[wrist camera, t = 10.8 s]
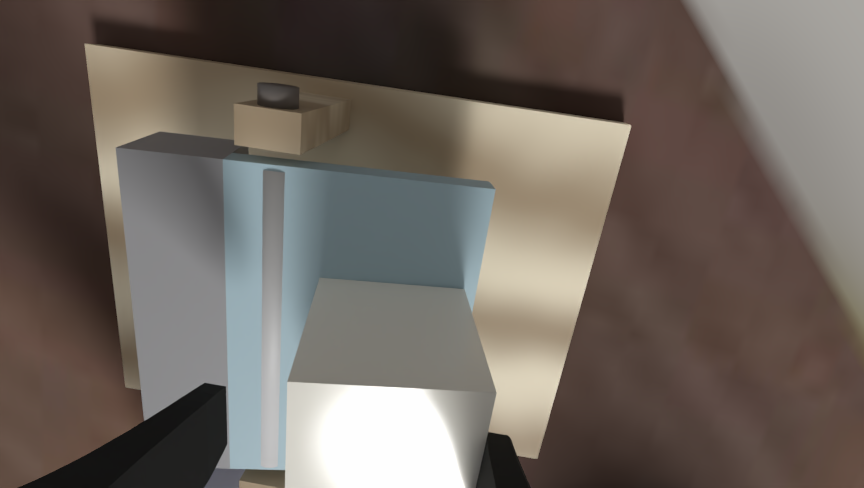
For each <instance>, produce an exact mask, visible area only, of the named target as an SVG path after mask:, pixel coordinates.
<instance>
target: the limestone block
mask: <svg viewBox="0 0 864 488" xmlns="http://www.w3.org/2000/svg"><path fill="white" fill-rule="evenodd" d="M496 394H497V392H496V389H495V386H494V382H493V379H492V376H491V373H490V369H489V366H488V363H487V360H486V357H485V353H484V350H483V347H482V344H481V340H480V337H479V334H478V331H477V328H476V324H475V321H474V318H473V315H472V311H471V308H470V305H469V302H468V299H467V295H466V292H465V289H458V288H445V287H432V286H420V285H407V284H394V283H382V282H369V281H357V280H344V279H331V278H319V281H318V285H317V288H316V291H315V294H314V297H313V301H312V304H311V307H310V310H309V313H308V317H307V320H306V323H305V326H304V329H303V333H302V336H301V339H300V342H299V346H298V349H297V352H296V355H295V358H294V362H293V365H292V368H291V371H290V374H289V378H288V381H287V414H286V459H285V488H476V484H477V480H478V475H479V471H480V466H481V462H482V458H483V453H484V449H485V444H486V440H487V435H488V430H489V426H490V421H491V417H492V412H493V408H494V403H495V398H496Z"/></svg>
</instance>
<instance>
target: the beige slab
mask: <svg viewBox="0 0 864 488" xmlns="http://www.w3.org/2000/svg"><path fill="white" fill-rule="evenodd" d="M85 52H86V60H87V69H88V77H89V85H90V94H91V102H92V110H93V119H94V127H95V136H96V144H97V152H98V161H99V169H100V178H101V186H102V194H103V203H104V211H105V220H106V228H107V236H108V245H109V253H110V262H111V270H112V278H113V287H114V295H115V304H116V312H117V320H118V329H119V337H120V346H121V354H122V362H123V371H124V379H125V387H127V388H132V389H138V390H141V386H140V376H139V367H138V357H137V347H136V338H135V328H134V319H133V309H132V300H131V290H130V281H129V271H128V262H127V252H126V243H125V233H124V224H123V214H122V205H121V195H120V186H119V176H118V166H117V157H116V147H118V146H121V145H124V144H127V143H129V142H132V141H135V140H138V139H140V138H143V137H146V136H148V135H151V134H154V133H157V132H159V131H161V132H170V133H178V134H187V135H195V136H204V137H213V138H221V139H230V140H234V145H238V146H245V147H249V155H257V156H266V157H275V158H284V159H293V160H302V161H311V162H320V163H329V164H337V165H346V166H355V167H364V168H373V169H382V170H391V171H400V172H409V173H418V174H427V175H436V176H445V177H454V178H462V179H471V180H480V181H489V182H490V183H491V184H492V185H493V187H494V188H495V189H496V190H495V195H494V200H493V206H492V211H491V216H490V221H489V227H488V232H487V237H486V243H485V248H484V253H483V258H482V264H481V269H480V274H479V279H478V285H477V290H476V295H475V300H474V306H473V311H472V315H473V318H474V321H475V324H476V328H477V331H478V334H479V337H480V340H481V344H482V347H483V350H484V353H485V357H486V360H487V363H488V366H489V369H490V373H491V376H492V379H493V382H494V386H495V389H496V392H497V394H496V398H495V403H494V408H493V412H492V417H491V421H490V426H489V430H488V432H492V433H497V434H503V435H508V436H509V437H510V438H511V440H512V443H513V446H514V449H515V451H516V454H517V456H522V457H528V458H534V459H537V458H538V455H539V451H540V447H541V444H542V440H543V437H544V433H545V430H546V426H547V423H548V419H549V416H550V412H551V409H552V405H553V401H554V398H555V394H556V391H557V387H558V384H559V380H560V377H561V373H562V370H563V366H564V363H565V359H566V355H567V352H568V348H569V345H570V341H571V338H572V334H573V331H574V327H575V324H576V320H577V317H578V313H579V309H580V306H581V302H582V299H583V295H584V292H585V288H586V285H587V281H588V278H589V274H590V270H591V267H592V263H593V260H594V256H595V253H596V249H597V246H598V242H599V239H600V235H601V232H602V228H603V224H604V221H605V217H606V214H607V210H608V207H609V203H610V200H611V196H612V193H613V189H614V186H615V182H616V178H617V175H618V171H619V168H620V164H621V161H622V157H623V154H624V150H625V147H626V143H627V140H628V136H629V132H630V129H631V125H630V124H627V123H625V122H619V121H612V120H605V119H599V118H592V117H585V116H578V115H572V114H565V113H558V112H552V111H545V110H538V109H532V108H525V107H518V106H511V105H505V104H498V103H491V102H485V101H478V100H471V99H464V98H458V97H451V96H444V95H438V94H431V93H424V92H418V91H411V90H404V89H397V88H391V87H384V86H377V85H371V84H364V83H357V82H350V81H344V80H337V79H330V78H324V77H317V76H310V75H304V74H297V73H290V72H283V71H277V70H270V69H263V68H257V67H250V66H243V65H236V64H230V63H223V62H216V61H210V60H203V59H196V58H189V57H183V56H176V55H169V54H163V53H156V52H149V51H143V50H136V49H129V48H122V47H116V46H109V45H101V44H85ZM239 488H285V470H260V469H245V471H244V473H243V475H242V476H241V478H240V480H239Z"/></svg>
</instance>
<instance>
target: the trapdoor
mask: <svg viewBox="0 0 864 488" xmlns="http://www.w3.org/2000/svg"><path fill="white" fill-rule="evenodd" d="M116 157H117V166H118V176H119V186H120V195H121V205H122V214H123V224H124V233H125V243H126V252H127V262H128V271H129V281H130V290H131V300H132V309H133V319H134V328H135V338H136V347H137V357H138V367H139V376H140V386H141V395H142V405H143V414H144V421H145V420H147V419H148V418H150V417H152V416H153V415H155V414H156V413H158V412H160V411H161V410H163V409H164V408H166V407H167V406H169V405H171V404H172V403H174V402H175V401H177V400H178V399H180V398H181V397H183V396H184V395H186V394H188V393H189V392H191V391H192V390H194V389H195V388H197V387H199V386H200V385H202V384H204V383H209V384H215V385H221V386H226V405H227V446H226V448H225V450H224V452H223V454H222V456H221V458H220V460H219V462H218V464H217V466H216V468H221V469H260V470H285V459H286V414H287V381H288V378H289V374H290V371H291V368H292V365H293V362H294V358H295V355H296V352H297V349H298V346H299V342H300V339H301V336H302V333H303V329H304V326H305V323H306V320H307V317H308V313H309V310H310V307H311V304H312V301H313V297H314V294H315V291H316V288H317V285H318V281H319V278H331V279H344V280H357V281H369V282H382V283H394V284H407V285H420V286H432V287H445V288H458V289H465V292H466V295H467V299H468V302H469V305H470V308H471V311H473V306H474V300H475V295H476V290H477V285H478V279H479V274H480V269H481V264H482V258H483V253H484V248H485V243H486V237H487V232H488V227H489V221H490V216H491V211H492V206H493V200H494V195H495V190H496V189H495V188H494V187H493V185H492V184H491V183H490V182H489V181H480V180H471V179H462V178H454V177H445V176H436V175H427V174H418V173H409V172H400V171H391V170H382V169H373V168H364V167H355V166H346V165H337V164H329V163H320V162H311V161H302V160H293V159H284V158H275V157H266V156H257V155H249V147H245V146H238V145H234V140H230V139H221V138H213V137H204V136H195V135H187V134H178V133H170V132H161V131H159V132H157V133H154V134H151V135H148V136H146V137H143V138H140V139H138V140H135V141H132V142H129V143H127V144H124V145H121V146H118V147H116Z"/></svg>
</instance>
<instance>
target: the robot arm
mask: <svg viewBox="0 0 864 488" xmlns="http://www.w3.org/2000/svg"><path fill="white" fill-rule="evenodd" d="M226 446H227V405H226V386H221V385H215V384H209V383H204V384H202V385H200V386H199V387H197V388H195V389H194V390H192V391H191V392H189V393H188V394H186V395H184V396H183V397H181V398H180V399H178V400H177V401H175V402H174V403H172V404H171V405H169V406H167V407H166V408H164V409H163V410H161V411H160V412H158V413H156V414H155V415H153V416H152V417H150V418H148V419H147V420H145V421H144V422H142V423H140V424H139V425H137V426H136V427H134V428H132V429H131V430H129V431H127V432H126V433H124V434H122V435H120V436H119V437H117V438H115V439H113V440H112V441H110V442H108V443H106V444H105V445H103V446H101V447H100V448H98V449H96V450H94V451H93V452H91V453H89V454H87V455H85V456H83V457H81V458H80V459H78V460H76V461H74V462H72V463H70V464H68V465H66V466H64V467H62V468H60V469H58V470H56V471H54V472H52V473H49V474H47V475H45V476H43V477H41V478H39V479H37V480H35V481H32V482H30V483H28V484H25V485H23V486H21V487H18V488H239V480H240V478H241V476H242V475H243V473H244V471H245V469H221V468H216V466H217V464H218V462H219V460H220V458H221V456H222V454H223V452H224V450H225V448H226ZM476 488H531V487H530V485H529V483H528V481H527V478H526V476H525V474H524V471H523V469H522V467H521V464H520V462H519V459H518V457H517V454H516V451H515V449H514V446H513V443H512V440H511V438H510V437H509V436H508V435H503V434H497V433H492V432H488V435H487V440H486V444H485V449H484V453H483V458H482V462H481V466H480V471H479V475H478V480H477V484H476Z"/></svg>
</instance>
